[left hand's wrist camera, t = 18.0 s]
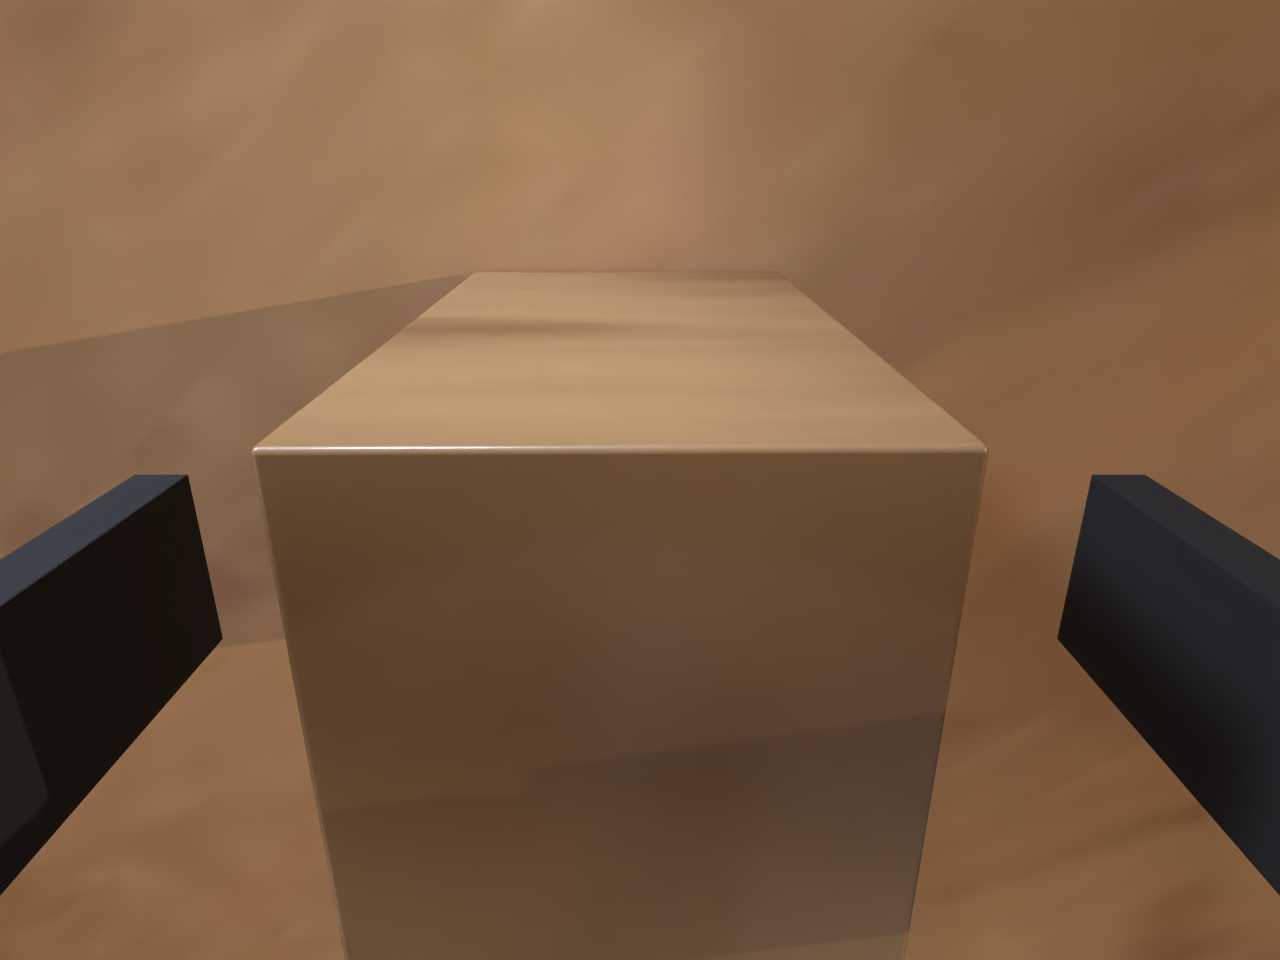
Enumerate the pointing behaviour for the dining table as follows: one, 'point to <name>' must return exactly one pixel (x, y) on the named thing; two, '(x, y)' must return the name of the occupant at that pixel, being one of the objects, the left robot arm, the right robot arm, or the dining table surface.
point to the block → (622, 622)
